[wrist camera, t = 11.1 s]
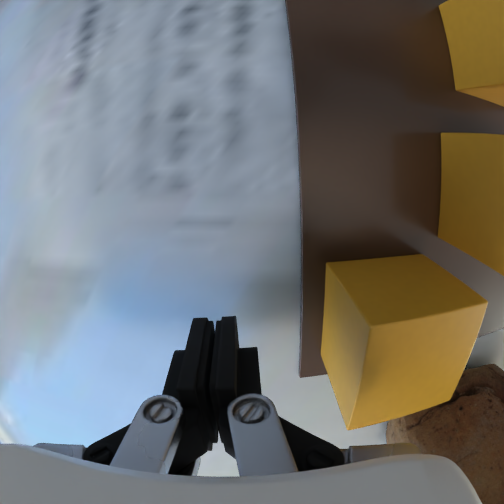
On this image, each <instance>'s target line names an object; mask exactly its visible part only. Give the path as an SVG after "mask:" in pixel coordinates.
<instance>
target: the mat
mask: <svg viewBox="0 0 504 504" xmlns="http://www.w3.org/2000/svg"><path fill="white" fill-rule="evenodd" d="M446 1H448V0H285V3H286V11H287V19H288V28H289V37H290V46H291V56H292V67H293V78H294V90H295V104H296V118H297V134H298V153H299V176H300V207H301V331H300V362H299V376H300V378H302V377H310V376H317V375H324V374H327V371H326V368H325V365H324V362H323V360H322V357H321V344H322V331H323V316H324V298H325V276H326V263H327V262H339V261H351V260H363V259H374V258H385V257H396V256H407V255H417V254H423V255H425V256H426V257H428V258H429V259H430V260H432V261H433V262H435V263H436V264H438V265H439V266H441V267H442V268H444V269H445V270H446V271H448V272H449V273H451V274H452V275H453V276H455V277H456V278H458V279H459V280H460V281H462V282H463V283H464V284H466V285H467V286H468V287H470V288H471V289H472V290H474V291H475V292H476V293H478V294H479V295H480V296H482V297H483V298H484V299H486V300H487V301H488V304H487V308H486V311H485V314H484V318H483V321H482V324H481V327H480V330H479V333H478V336H477V338H478V337H481V336H484V335H486V334H489V333H492V332H495V331H497V330H500V329H502V328H504V276H503V275H501V274H500V273H498V272H496V271H495V270H493V269H492V268H490V267H488V266H487V265H485V264H483V263H482V262H480V261H479V260H477V259H475V258H473V257H472V256H470V255H468V254H467V253H465V252H463V251H461V250H460V249H458V248H456V247H454V246H453V245H451V244H449V243H447V242H445V241H444V240H442V239H440V238H438V227H439V216H440V200H441V133H485V134H501V135H504V107H503V106H500V105H498V104H495V103H492V102H490V101H487V100H484V99H481V98H478V97H475V96H472V95H469V94H466V93H462V92H459V91H456V90H455V82H454V75H453V68H452V62H451V57H450V51H449V46H448V42H447V37H446V33H445V29H444V24H443V21H442V17H441V13H440V10H439V5H440V4H442V3H444V2H446Z"/></svg>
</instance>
